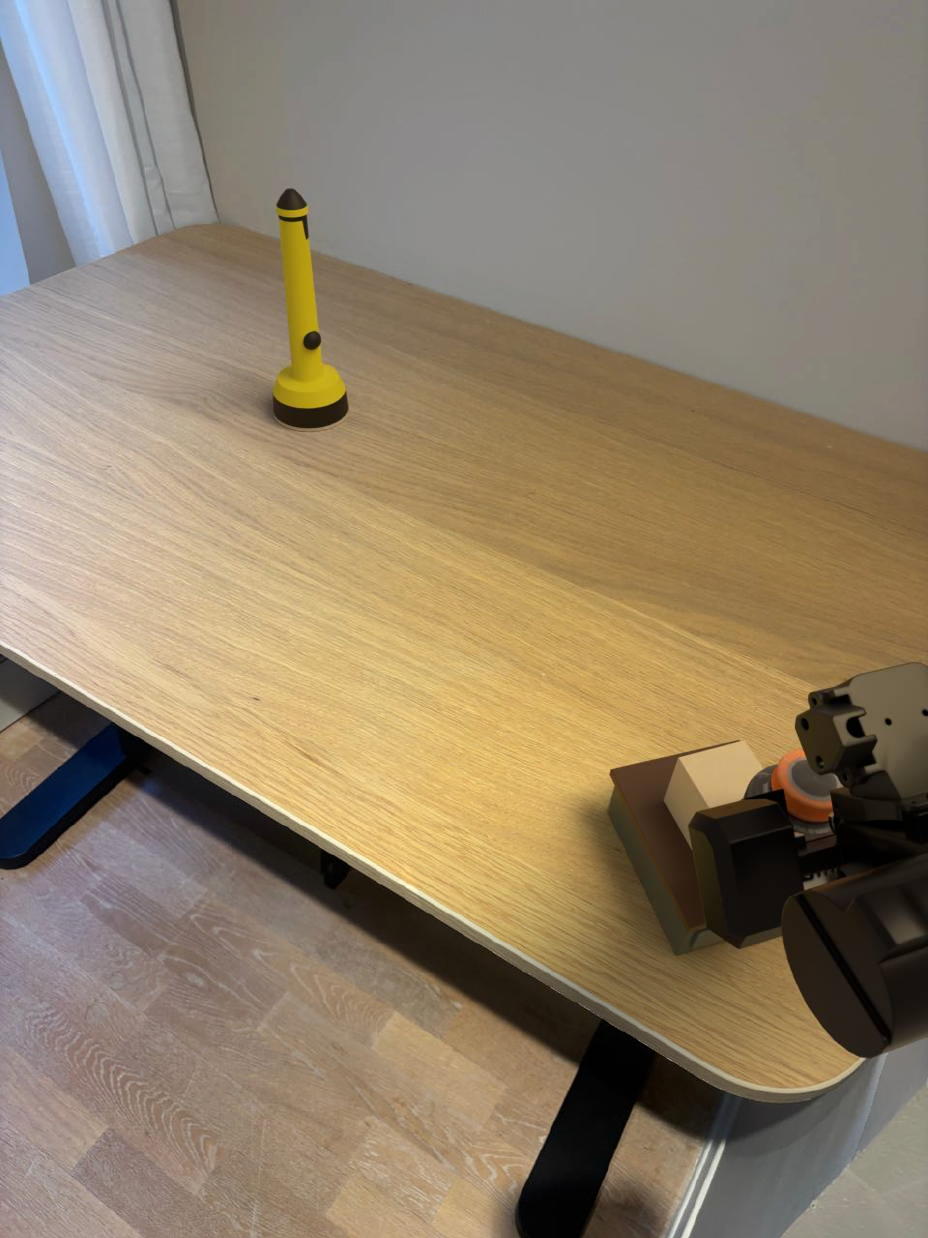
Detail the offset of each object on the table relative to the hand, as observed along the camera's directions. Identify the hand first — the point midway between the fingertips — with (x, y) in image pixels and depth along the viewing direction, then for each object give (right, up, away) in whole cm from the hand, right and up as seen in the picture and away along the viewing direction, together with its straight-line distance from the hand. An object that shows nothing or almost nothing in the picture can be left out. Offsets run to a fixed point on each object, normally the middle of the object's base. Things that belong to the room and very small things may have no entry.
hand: (778, 804), depth 51 cm
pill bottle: (0, -6, +4) cm, 7 cm away
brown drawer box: (-2, -7, +12) cm, 13 cm away
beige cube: (-2, -3, +8) cm, 9 cm away
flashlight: (-37, +36, +53) cm, 73 cm away
